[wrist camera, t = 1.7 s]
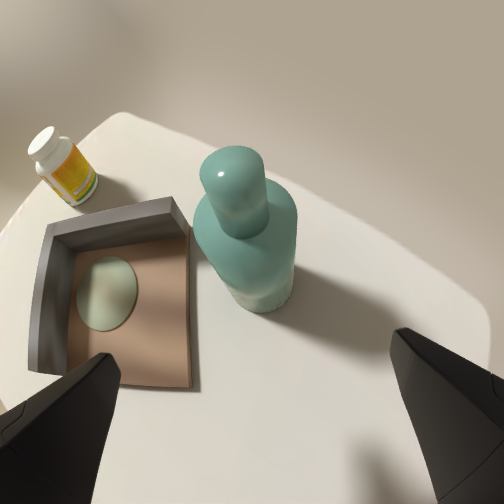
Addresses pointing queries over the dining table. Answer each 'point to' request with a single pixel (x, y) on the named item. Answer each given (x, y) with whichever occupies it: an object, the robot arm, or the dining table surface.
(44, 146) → the supplement bottle
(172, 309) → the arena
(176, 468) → the dining table surface
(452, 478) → the robot arm
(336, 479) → the dining table surface
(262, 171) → the teal bottle
